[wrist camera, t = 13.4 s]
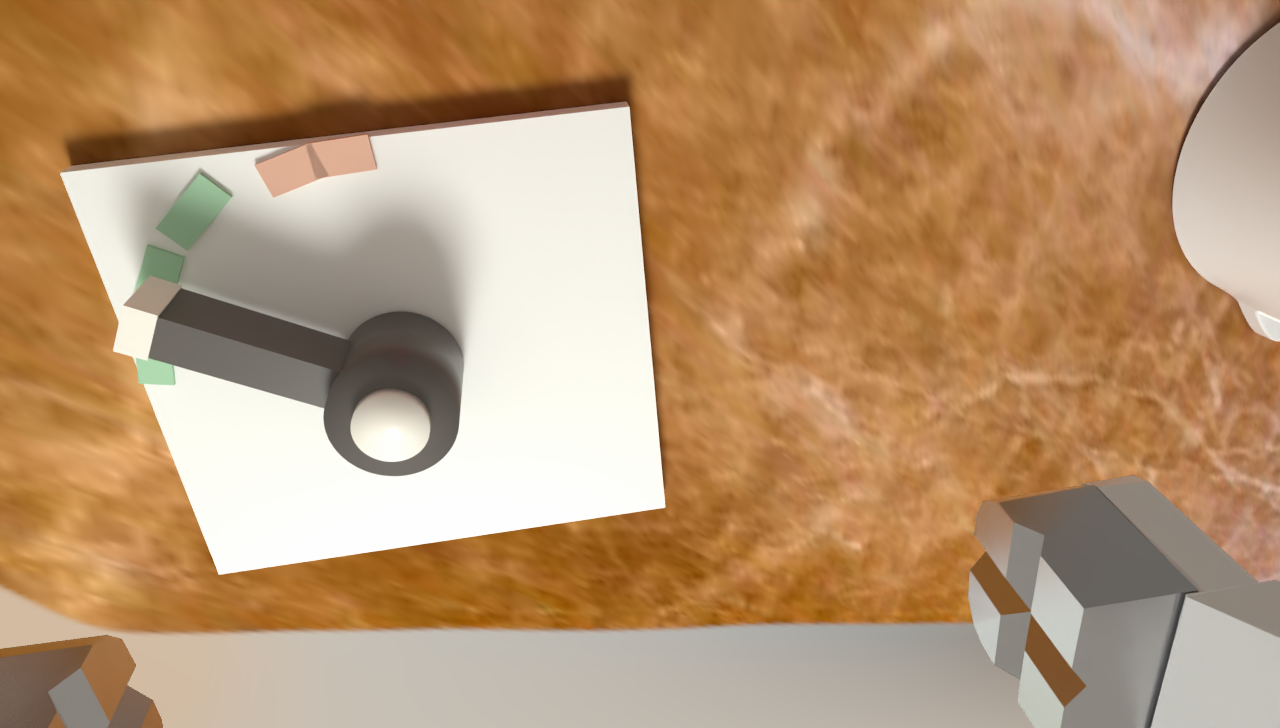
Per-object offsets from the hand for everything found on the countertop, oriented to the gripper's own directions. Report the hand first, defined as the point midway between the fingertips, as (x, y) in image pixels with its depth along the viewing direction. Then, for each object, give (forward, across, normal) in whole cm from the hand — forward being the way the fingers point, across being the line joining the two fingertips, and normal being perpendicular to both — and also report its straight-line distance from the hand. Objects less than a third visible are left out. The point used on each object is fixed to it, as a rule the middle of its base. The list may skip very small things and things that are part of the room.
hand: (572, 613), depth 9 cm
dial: (+30, +10, +10) cm, 33 cm away
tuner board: (+31, +7, +12) cm, 34 cm away
